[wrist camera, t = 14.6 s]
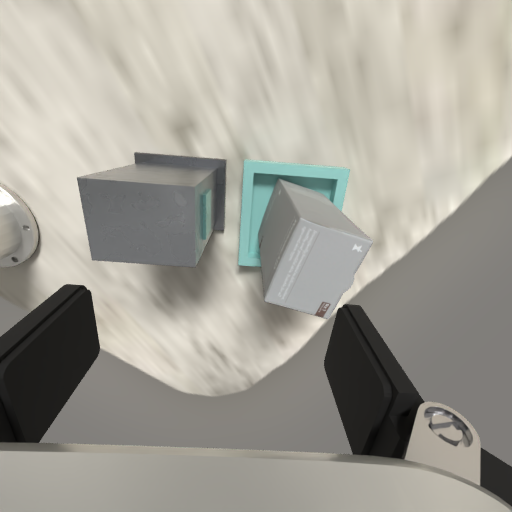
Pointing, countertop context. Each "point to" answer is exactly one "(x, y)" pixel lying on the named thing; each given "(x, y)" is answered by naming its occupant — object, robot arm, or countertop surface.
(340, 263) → the skincare box
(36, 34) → the countertop surface
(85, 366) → the robot arm
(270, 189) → the tray
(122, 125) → the countertop surface
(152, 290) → the countertop surface
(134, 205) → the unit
